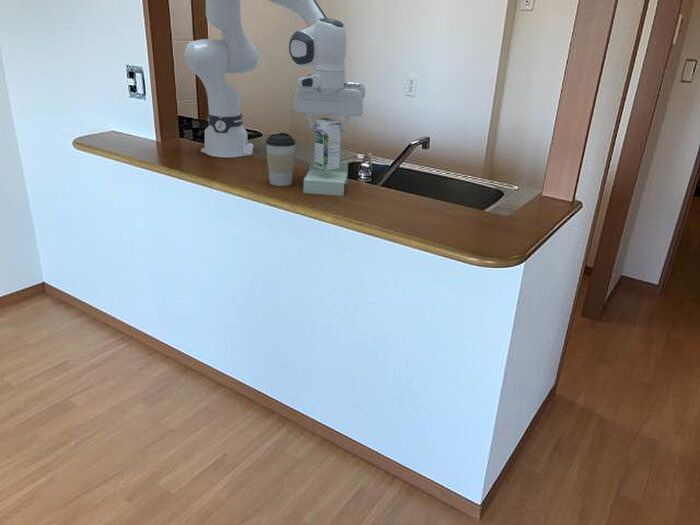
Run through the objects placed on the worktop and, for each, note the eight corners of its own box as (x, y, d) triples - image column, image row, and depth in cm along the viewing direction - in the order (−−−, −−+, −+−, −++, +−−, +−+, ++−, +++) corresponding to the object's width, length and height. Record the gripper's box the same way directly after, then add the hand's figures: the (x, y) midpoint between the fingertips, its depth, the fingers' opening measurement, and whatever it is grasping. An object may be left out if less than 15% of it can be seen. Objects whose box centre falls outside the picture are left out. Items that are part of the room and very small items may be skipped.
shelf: (309, 180, 177) (310, 159, 174) (347, 183, 176) (348, 162, 173) (303, 192, 165) (303, 170, 162) (343, 195, 165) (344, 173, 162)
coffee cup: (290, 188, 169) (290, 139, 162) (262, 185, 170) (261, 136, 164) (298, 180, 177) (299, 133, 170) (271, 177, 178) (271, 130, 172)
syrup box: (313, 166, 168) (314, 118, 162) (328, 164, 172) (329, 116, 166) (325, 171, 164) (325, 121, 158) (340, 168, 168) (341, 119, 162)
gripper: (366, 81, 160) (363, 130, 166) (296, 77, 161) (295, 125, 167) (365, 84, 154) (362, 134, 160) (292, 79, 155) (292, 129, 161)
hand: (327, 129), depth 163 cm, fingers closed on syrup box, 8 cm apart
